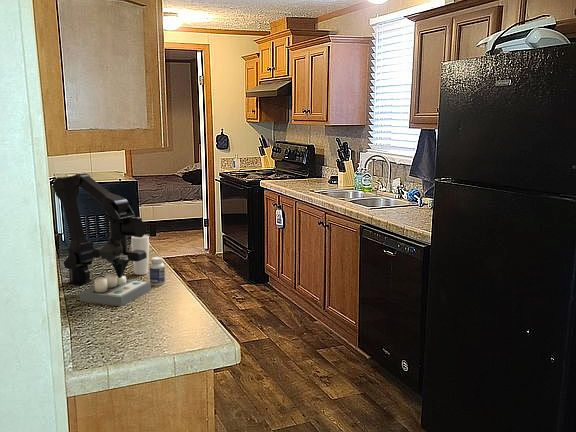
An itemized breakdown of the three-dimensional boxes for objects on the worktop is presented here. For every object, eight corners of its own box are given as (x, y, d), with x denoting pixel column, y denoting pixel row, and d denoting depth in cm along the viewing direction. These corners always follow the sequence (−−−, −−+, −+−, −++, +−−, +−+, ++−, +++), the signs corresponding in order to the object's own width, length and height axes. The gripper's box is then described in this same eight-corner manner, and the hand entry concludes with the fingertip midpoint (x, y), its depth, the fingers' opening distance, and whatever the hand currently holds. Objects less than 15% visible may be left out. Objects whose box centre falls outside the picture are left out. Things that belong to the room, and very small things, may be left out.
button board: (79, 301, 180) (79, 291, 179) (112, 286, 197) (111, 277, 196) (121, 306, 175) (121, 296, 175) (150, 290, 192) (150, 281, 192)
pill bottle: (161, 286, 197) (160, 260, 196) (147, 285, 198) (146, 259, 197) (167, 282, 203) (166, 256, 201) (153, 281, 204) (153, 256, 202)
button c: (112, 288, 190) (112, 278, 190) (119, 285, 194) (118, 275, 194) (122, 289, 189) (121, 279, 189) (128, 286, 193) (128, 276, 192)
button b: (102, 287, 185) (102, 276, 184) (109, 283, 189) (109, 273, 188) (112, 288, 184) (112, 277, 183) (119, 284, 187) (119, 274, 187)
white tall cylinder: (128, 274, 212) (127, 237, 209) (139, 270, 218) (138, 234, 215) (143, 276, 209) (141, 238, 207) (153, 272, 215) (152, 235, 213)
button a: (92, 291, 180) (91, 280, 179) (99, 288, 183) (99, 277, 183) (102, 292, 178) (102, 281, 178) (110, 289, 182) (109, 278, 182)
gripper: (80, 236, 184) (82, 281, 186) (128, 240, 178) (130, 286, 181) (100, 230, 194) (102, 272, 197) (146, 234, 189) (148, 277, 191)
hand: (120, 277), depth 191 cm, fingers closed, pressing on button c
